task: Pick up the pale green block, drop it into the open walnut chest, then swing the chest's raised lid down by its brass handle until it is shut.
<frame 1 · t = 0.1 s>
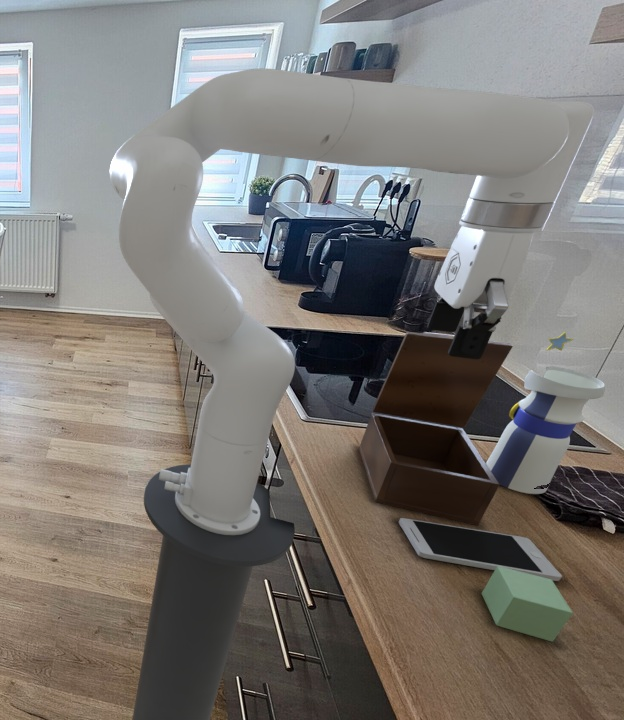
hand: (451, 342, 68), 27 cm above the worktop, tool pointing down, fingers open, 9 cm apart
chest lid: (433, 374, 82), point 17 cm above the worktop, hinge at 80.0°
block: (515, 616, 61), on the worktop
smartphone: (472, 550, 70), on the worktop
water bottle: (511, 479, 83), on the worktop
chest: (412, 483, 83), on the worktop
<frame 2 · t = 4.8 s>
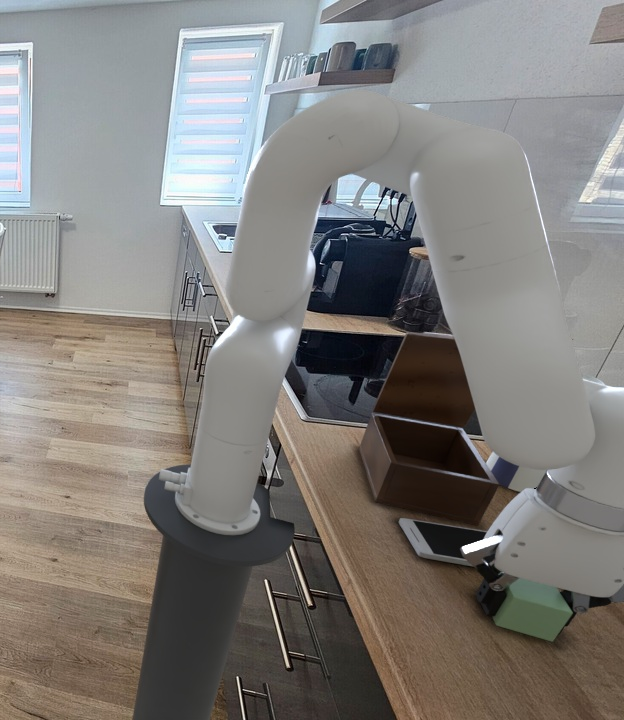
hand: (516, 614, 60), 0 cm above the worktop, tool pointing down, fingers closed on block, 5 cm apart
block: (515, 616, 61), on the worktop, touching gripper
everything else where it was.
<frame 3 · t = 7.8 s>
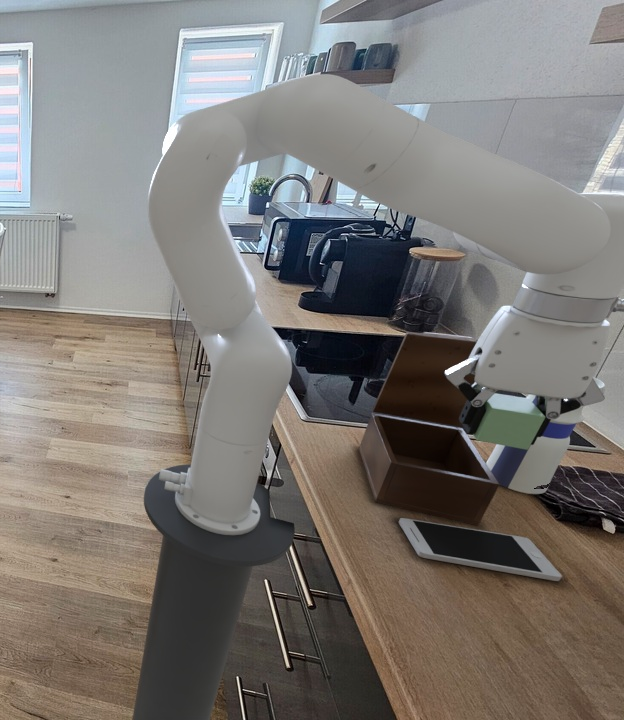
hand: (496, 432, 66), 17 cm above the worktop, tool pointing down, fingers closed on block, 5 cm apart
block: (494, 435, 66), point 17 cm above the worktop, touching gripper
everything else where it was.
when the fingers open (10 cm above the worktop, at t = 10.9 s): block drops 9 cm, resting on chest.
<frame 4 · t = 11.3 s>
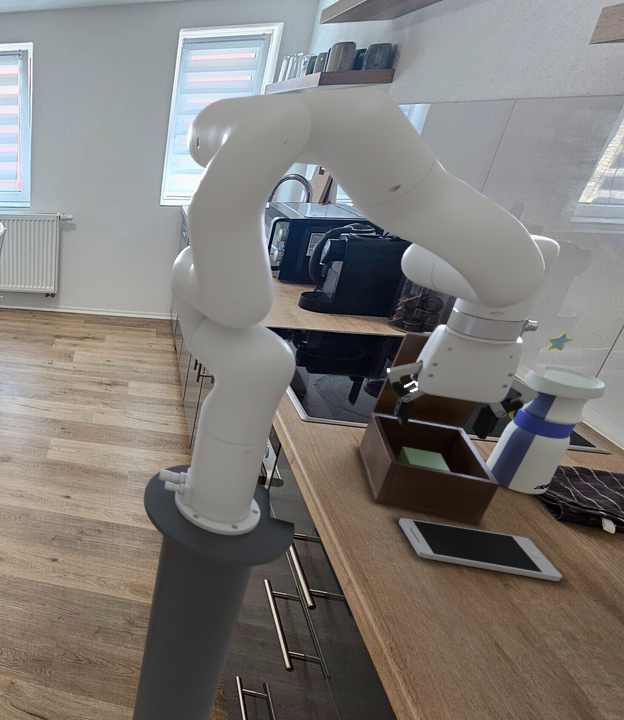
hand: (438, 427, 77), 12 cm above the worktop, tool pointing down, fingers open, 9 cm apart
block: (414, 483, 82), point 1 cm above the worktop, touching chest
everything else where it was.
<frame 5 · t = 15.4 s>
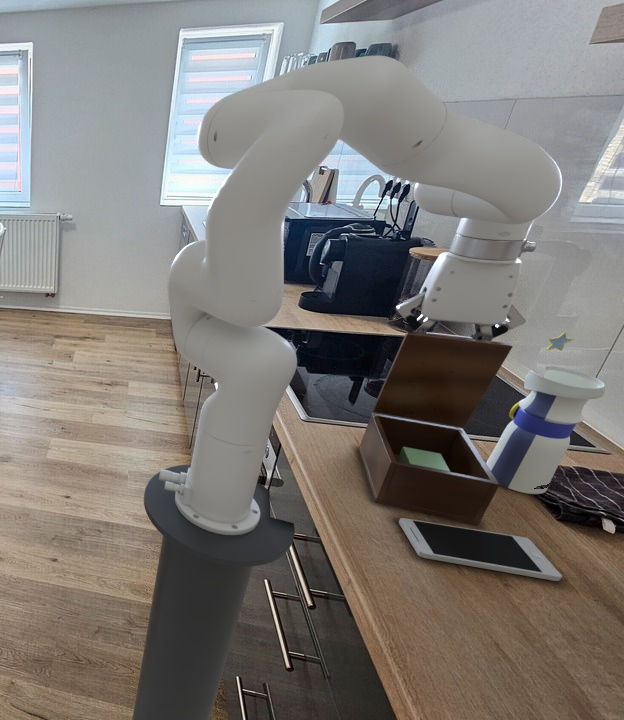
hand: (440, 356, 81), 20 cm above the worktop, tool pointing down, fingers closed on chest lid, 6 cm apart
chest lid: (433, 374, 82), point 17 cm above the worktop, hinge at 80.0°, touching gripper
everything else where it was.
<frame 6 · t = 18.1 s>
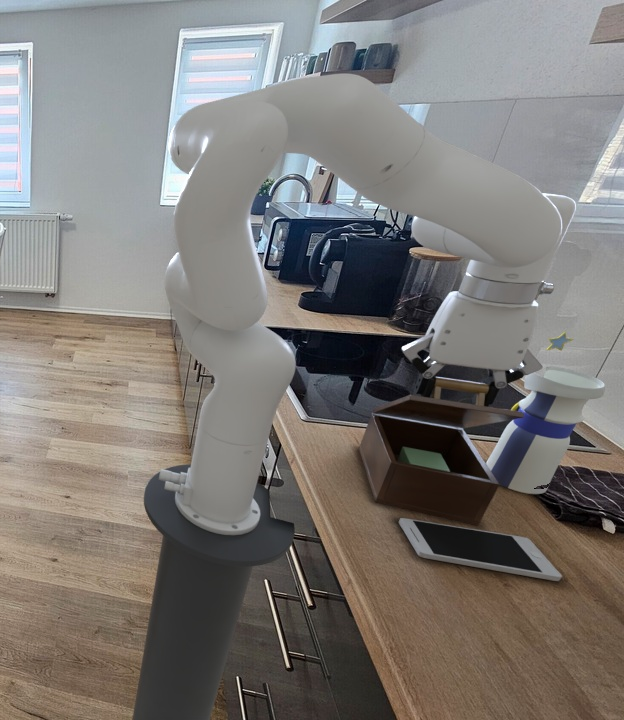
hand: (449, 401, 75), 16 cm above the worktop, tool pointing down, fingers closed on chest lid, 6 cm apart
chest lid: (439, 400, 78), point 15 cm above the worktop, hinge at 36.6°, touching gripper
everything else where it was.
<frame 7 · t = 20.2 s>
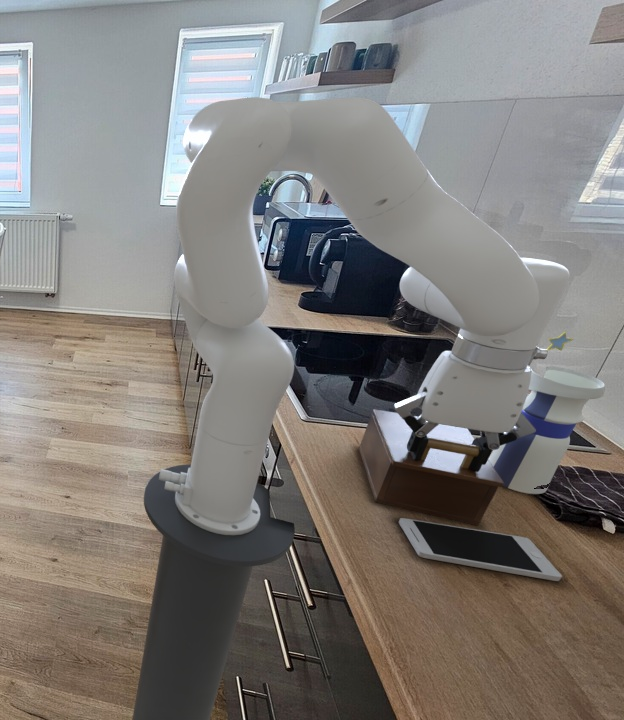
hand: (442, 459, 74), 9 cm above the worktop, tool pointing down, fingers closed on chest lid, 6 cm apart
chest lid: (434, 433, 78), point 10 cm above the worktop, hinge at -0.1°, touching gripper
everything else where it was.
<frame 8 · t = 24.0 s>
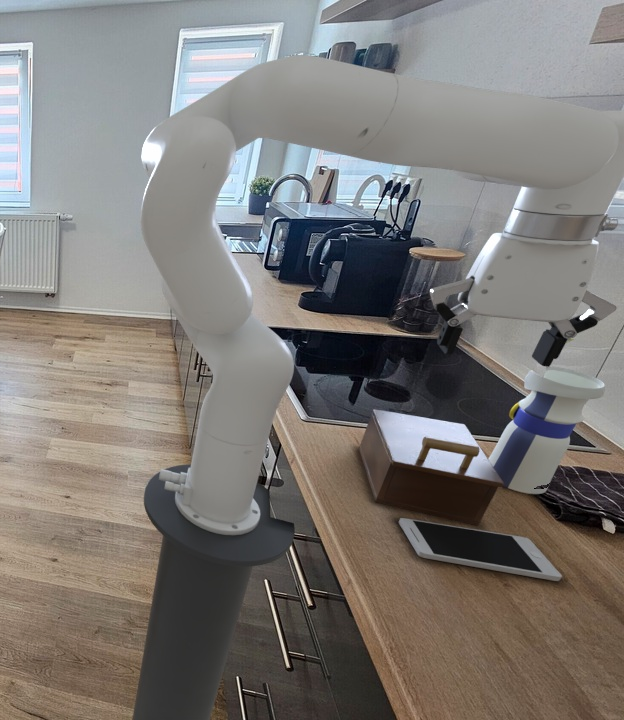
hand: (491, 356, 66), 26 cm above the worktop, tool pointing down, fingers open, 9 cm apart
chest lid: (434, 433, 78), point 10 cm above the worktop, hinge at -0.2°, touching chest
everything else where it was.
at the end: block inside the target area in the chest (1.0 cm from its centre), point 0.8 cm above the chest's base; chest lid at +0° (first picture: +80°) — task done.
